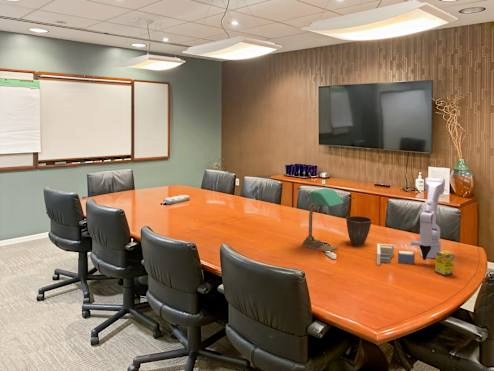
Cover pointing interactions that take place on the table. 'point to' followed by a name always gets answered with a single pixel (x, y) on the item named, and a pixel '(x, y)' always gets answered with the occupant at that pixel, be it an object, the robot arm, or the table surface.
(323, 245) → the banker's lamp
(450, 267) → the supplement box
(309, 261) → the table surface
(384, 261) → the book rack
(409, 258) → the boxed book
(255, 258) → the table surface
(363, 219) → the plant pot
